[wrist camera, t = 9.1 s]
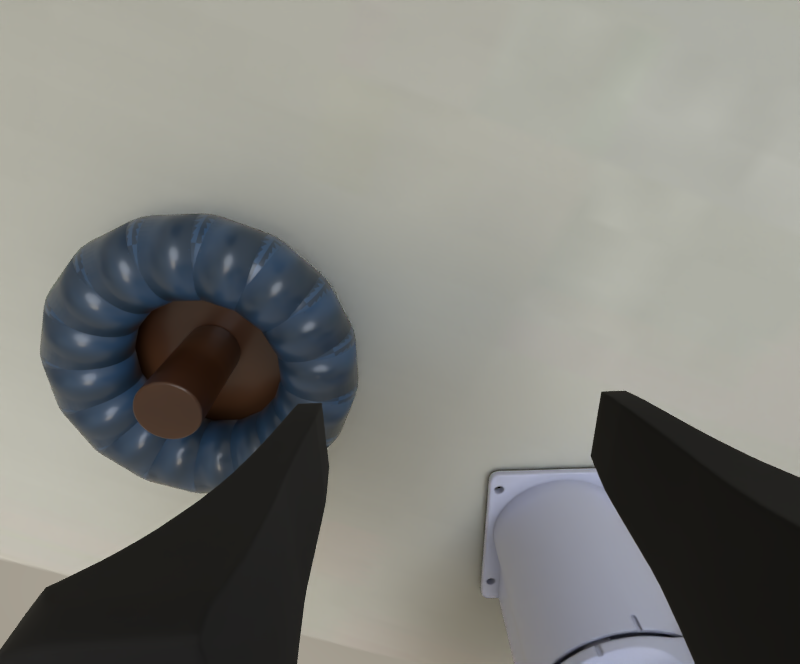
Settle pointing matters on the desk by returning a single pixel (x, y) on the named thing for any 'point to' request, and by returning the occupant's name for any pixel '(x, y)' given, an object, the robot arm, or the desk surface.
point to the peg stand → (201, 368)
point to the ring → (190, 281)
